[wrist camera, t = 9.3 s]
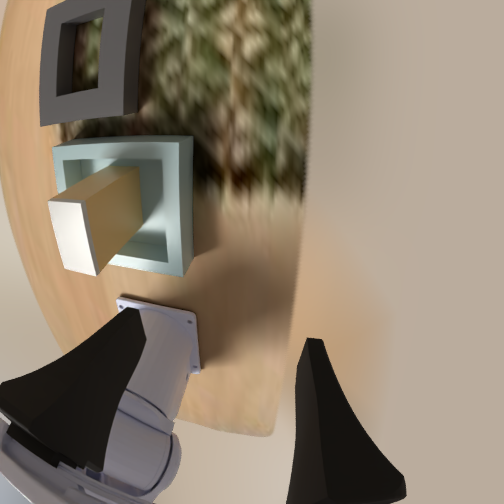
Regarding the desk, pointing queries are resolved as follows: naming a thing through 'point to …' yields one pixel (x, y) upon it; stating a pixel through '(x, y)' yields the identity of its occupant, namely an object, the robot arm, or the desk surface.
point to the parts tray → (143, 193)
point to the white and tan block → (97, 217)
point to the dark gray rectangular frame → (110, 61)
